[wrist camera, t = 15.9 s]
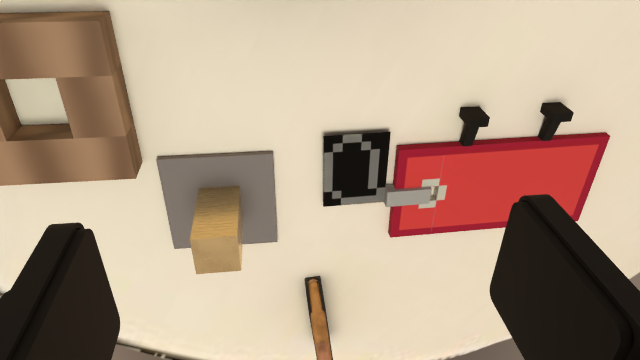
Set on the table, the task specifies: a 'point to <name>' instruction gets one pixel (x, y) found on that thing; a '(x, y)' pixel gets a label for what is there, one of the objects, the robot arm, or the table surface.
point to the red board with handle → (463, 174)
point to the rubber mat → (220, 171)
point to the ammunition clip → (318, 318)
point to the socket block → (66, 100)
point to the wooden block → (217, 230)
